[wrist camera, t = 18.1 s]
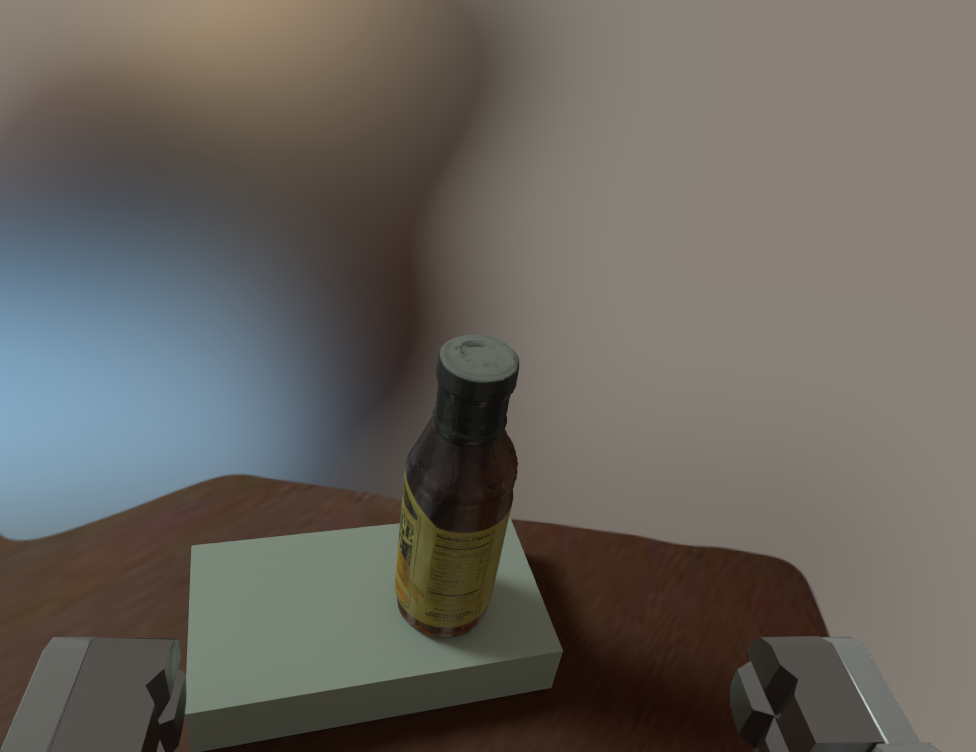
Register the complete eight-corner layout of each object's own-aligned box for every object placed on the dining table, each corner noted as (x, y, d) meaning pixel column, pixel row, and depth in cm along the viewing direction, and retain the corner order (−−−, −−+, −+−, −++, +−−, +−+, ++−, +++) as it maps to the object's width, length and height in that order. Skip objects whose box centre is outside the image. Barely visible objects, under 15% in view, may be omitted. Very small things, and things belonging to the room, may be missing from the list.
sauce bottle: (410, 554, 52) (439, 304, 41) (498, 580, 51) (552, 331, 40) (376, 632, 47) (399, 369, 35) (474, 661, 46) (529, 402, 35)
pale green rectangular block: (191, 753, 43) (184, 714, 41) (196, 585, 53) (191, 545, 50) (551, 687, 50) (562, 651, 48) (500, 548, 59) (507, 511, 57)
